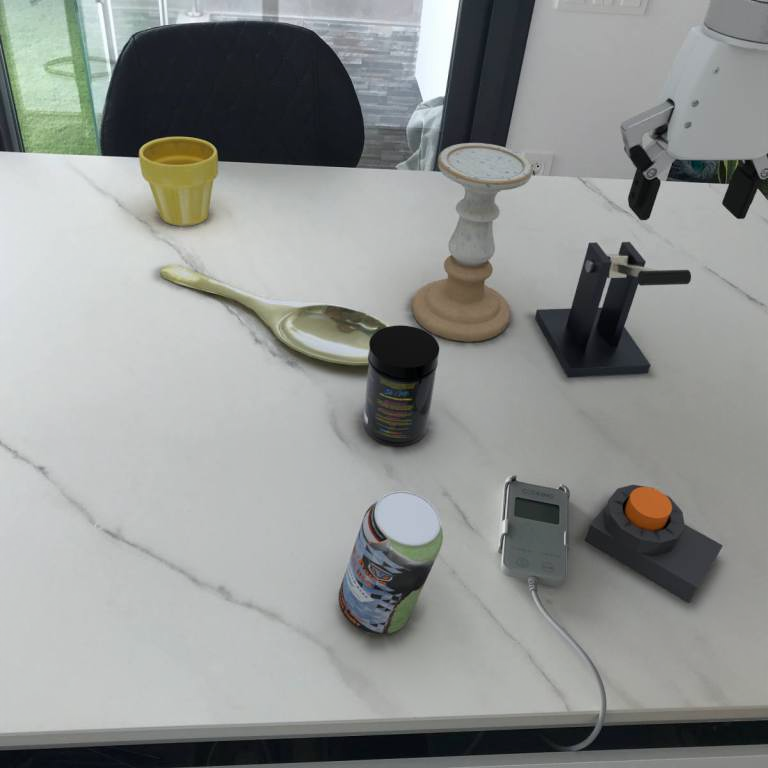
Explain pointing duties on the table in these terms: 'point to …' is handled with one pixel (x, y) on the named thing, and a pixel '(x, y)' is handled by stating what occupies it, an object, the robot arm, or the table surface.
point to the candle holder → (471, 245)
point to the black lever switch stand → (596, 321)
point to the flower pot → (180, 177)
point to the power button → (648, 508)
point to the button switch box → (655, 546)
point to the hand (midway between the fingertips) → (685, 212)
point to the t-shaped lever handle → (646, 272)
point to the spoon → (298, 320)
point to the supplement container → (400, 384)
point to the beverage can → (390, 562)
